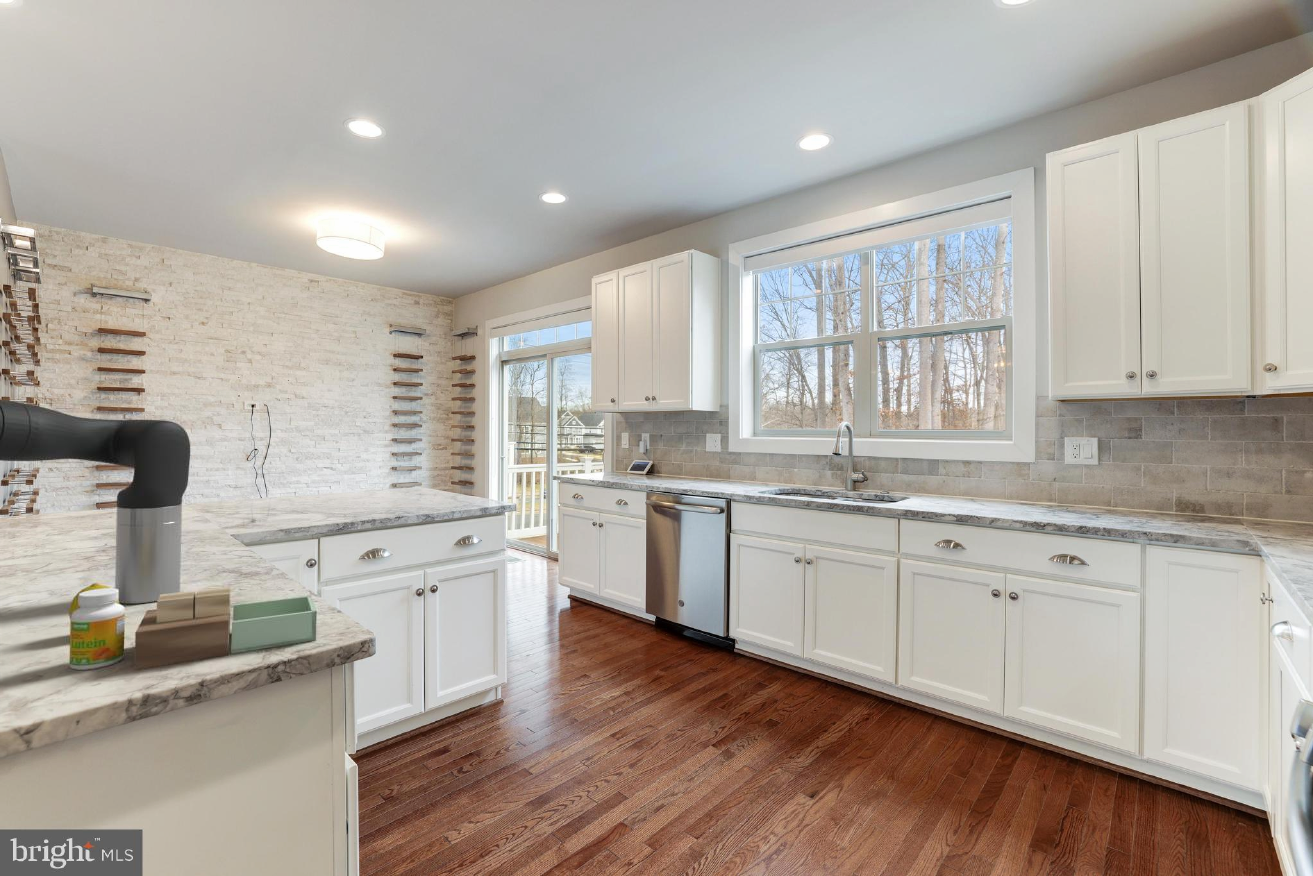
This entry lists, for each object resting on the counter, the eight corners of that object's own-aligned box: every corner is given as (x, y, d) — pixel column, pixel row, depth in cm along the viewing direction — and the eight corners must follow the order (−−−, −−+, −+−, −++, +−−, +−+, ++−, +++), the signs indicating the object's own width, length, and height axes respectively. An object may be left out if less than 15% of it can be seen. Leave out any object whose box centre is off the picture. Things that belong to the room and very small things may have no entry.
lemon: (87, 643, 86) (88, 589, 86) (58, 639, 87) (59, 586, 87) (128, 630, 92) (129, 580, 92) (100, 627, 93) (101, 577, 93)
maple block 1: (160, 615, 85) (160, 594, 85) (195, 610, 87) (195, 590, 87) (156, 622, 82) (156, 601, 81) (192, 618, 84) (193, 597, 84)
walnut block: (146, 643, 87) (147, 610, 87) (229, 632, 92) (230, 600, 92) (134, 669, 78) (135, 632, 78) (227, 655, 83) (228, 620, 83)
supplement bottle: (60, 673, 76) (62, 599, 76) (81, 658, 81) (82, 588, 81) (113, 667, 78) (115, 595, 78) (130, 653, 83) (132, 585, 83)
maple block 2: (196, 610, 87) (197, 590, 87) (229, 606, 90) (230, 587, 89) (194, 618, 84) (195, 597, 84) (229, 613, 86) (229, 593, 86)
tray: (232, 632, 92) (233, 604, 92) (310, 621, 98) (311, 595, 98) (231, 653, 84) (231, 622, 84) (315, 640, 90) (316, 611, 90)
